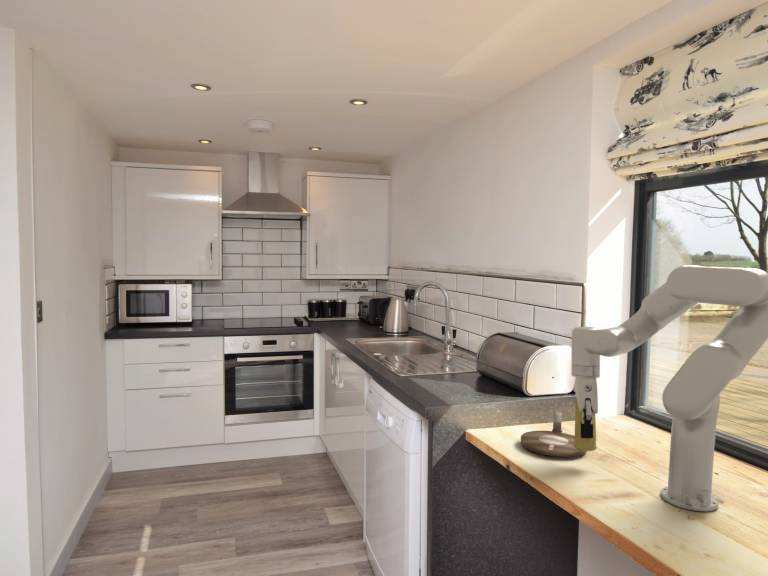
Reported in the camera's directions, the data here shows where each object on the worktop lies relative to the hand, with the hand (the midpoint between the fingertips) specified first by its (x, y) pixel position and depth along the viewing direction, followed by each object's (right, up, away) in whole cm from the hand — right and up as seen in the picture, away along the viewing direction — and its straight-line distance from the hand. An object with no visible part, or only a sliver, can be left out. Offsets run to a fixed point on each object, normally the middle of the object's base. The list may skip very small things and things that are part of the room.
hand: (585, 434), depth 157 cm
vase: (0, -4, 0) cm, 4 cm away
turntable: (-3, -8, +18) cm, 20 cm away
